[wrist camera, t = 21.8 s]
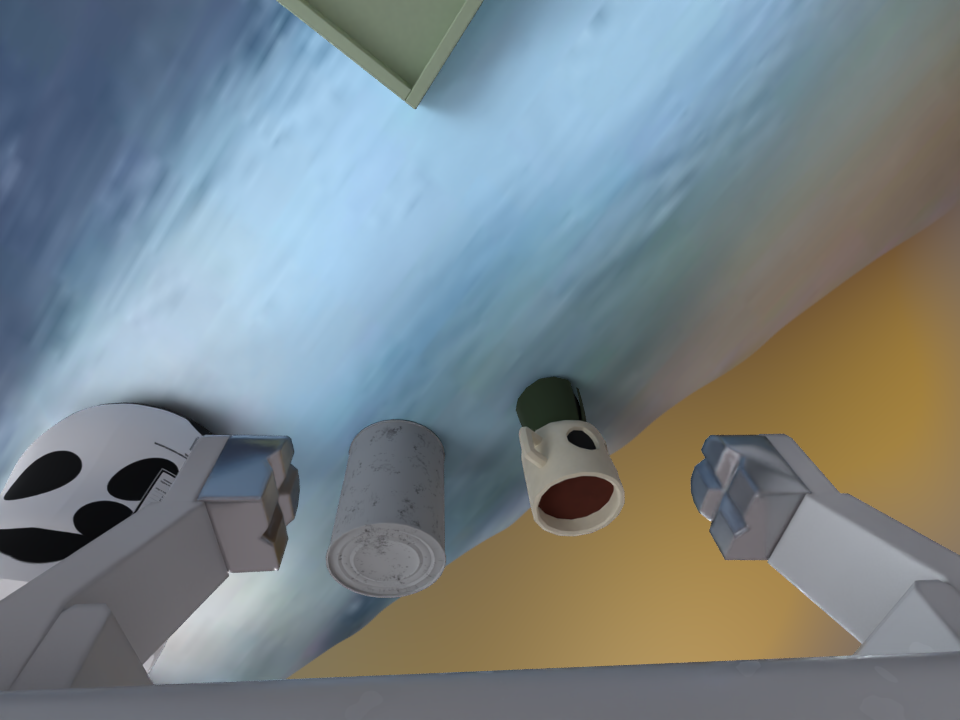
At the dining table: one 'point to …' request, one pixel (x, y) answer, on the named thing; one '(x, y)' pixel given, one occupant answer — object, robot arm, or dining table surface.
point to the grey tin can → (390, 512)
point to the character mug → (565, 461)
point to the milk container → (87, 484)
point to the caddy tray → (391, 36)
